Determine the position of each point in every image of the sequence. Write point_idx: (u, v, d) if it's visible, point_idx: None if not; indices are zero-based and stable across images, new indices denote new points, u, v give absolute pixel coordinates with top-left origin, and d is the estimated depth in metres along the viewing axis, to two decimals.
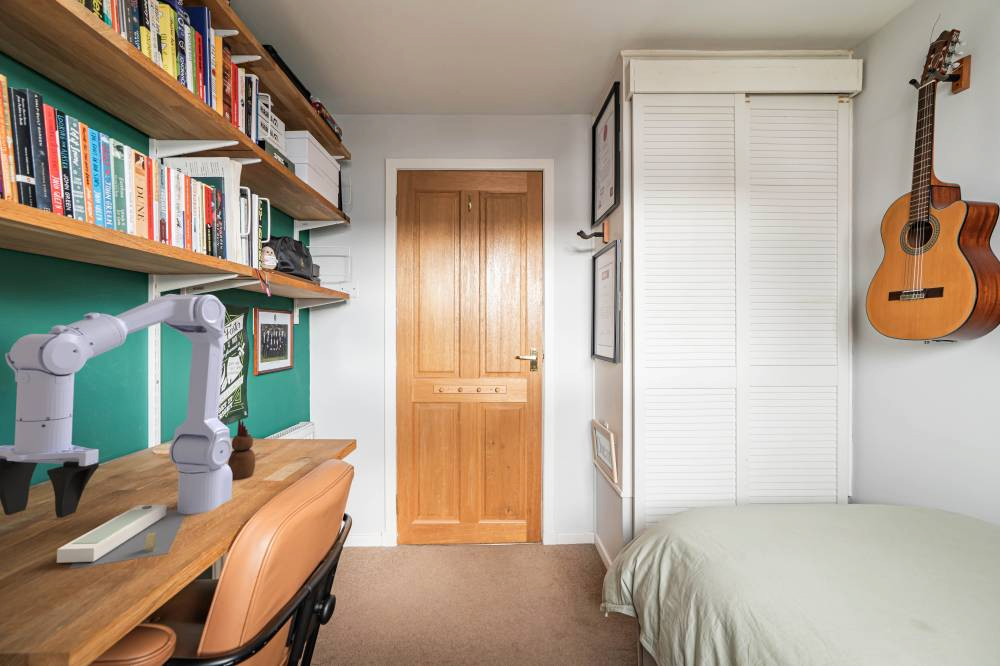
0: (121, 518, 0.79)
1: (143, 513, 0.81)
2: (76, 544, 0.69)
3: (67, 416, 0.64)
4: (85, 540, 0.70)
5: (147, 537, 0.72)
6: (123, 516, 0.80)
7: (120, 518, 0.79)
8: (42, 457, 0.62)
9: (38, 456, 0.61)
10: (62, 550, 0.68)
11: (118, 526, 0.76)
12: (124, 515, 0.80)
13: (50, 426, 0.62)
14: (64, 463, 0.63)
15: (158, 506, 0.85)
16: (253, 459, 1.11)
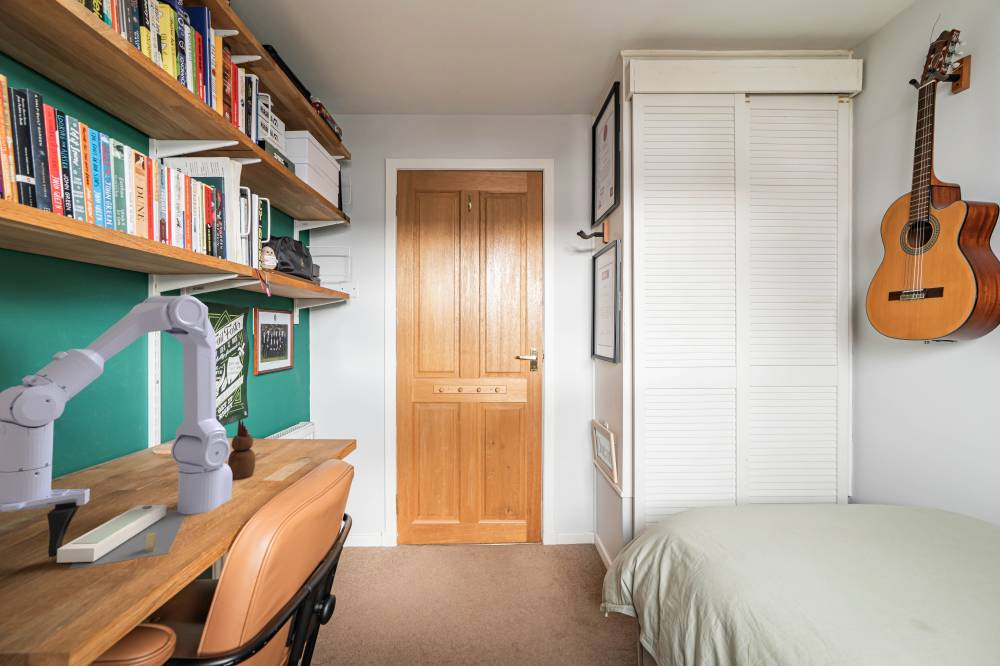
0: (121, 518, 0.79)
1: (143, 513, 0.81)
2: (76, 544, 0.69)
3: (42, 466, 0.66)
4: (85, 540, 0.70)
5: (147, 537, 0.72)
6: (123, 516, 0.80)
7: (120, 518, 0.79)
8: (38, 503, 0.66)
9: (34, 502, 0.65)
10: (62, 550, 0.68)
11: (118, 526, 0.76)
12: (124, 515, 0.80)
13: (42, 473, 0.67)
14: (57, 505, 0.68)
15: (158, 506, 0.85)
16: (253, 459, 1.11)
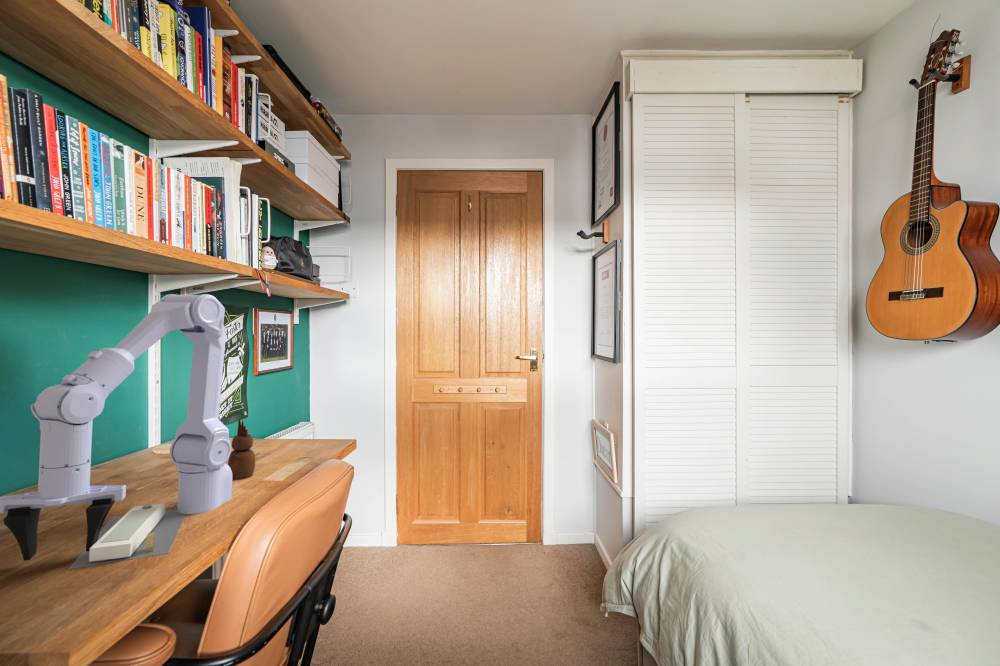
0: (129, 518, 0.79)
1: (149, 512, 0.82)
2: (105, 542, 0.70)
3: (85, 462, 0.69)
4: (112, 538, 0.71)
5: (147, 537, 0.72)
6: (130, 516, 0.80)
7: (128, 518, 0.79)
8: (79, 498, 0.68)
9: (75, 498, 0.67)
10: (95, 549, 0.68)
11: (135, 525, 0.76)
12: (130, 515, 0.80)
13: (82, 469, 0.69)
14: (96, 501, 0.70)
15: (158, 505, 0.85)
16: (253, 459, 1.11)
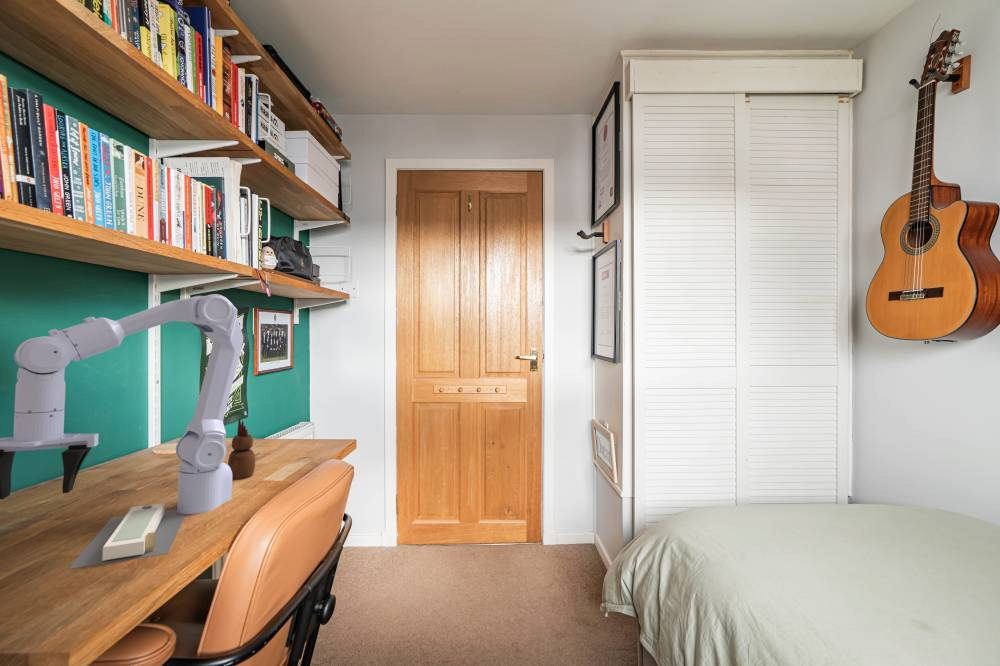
0: (133, 518, 0.79)
1: (151, 511, 0.82)
2: (117, 541, 0.71)
3: (50, 410, 0.72)
4: (123, 537, 0.72)
5: (147, 537, 0.72)
6: (132, 516, 0.80)
7: (131, 518, 0.79)
8: (53, 442, 0.72)
9: (49, 442, 0.72)
10: (108, 547, 0.69)
11: (141, 524, 0.77)
12: (132, 515, 0.80)
13: (56, 416, 0.73)
14: (69, 446, 0.74)
15: (158, 505, 0.85)
16: (253, 459, 1.11)
